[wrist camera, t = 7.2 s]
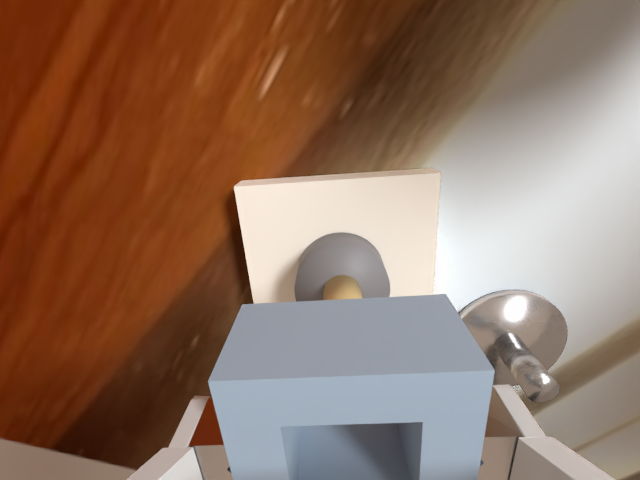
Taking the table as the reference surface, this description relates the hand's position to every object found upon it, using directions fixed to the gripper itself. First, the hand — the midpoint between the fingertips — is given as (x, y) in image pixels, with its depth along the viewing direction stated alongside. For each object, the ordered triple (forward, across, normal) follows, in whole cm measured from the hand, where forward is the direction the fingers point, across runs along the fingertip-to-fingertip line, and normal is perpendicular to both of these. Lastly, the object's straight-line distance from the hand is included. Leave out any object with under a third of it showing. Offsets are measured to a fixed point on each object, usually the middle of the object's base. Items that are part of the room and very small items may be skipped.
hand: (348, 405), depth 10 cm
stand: (+10, -10, +6) cm, 15 cm away
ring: (+1, 0, 0) cm, 1 cm away
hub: (+10, 0, 0) cm, 10 cm away
